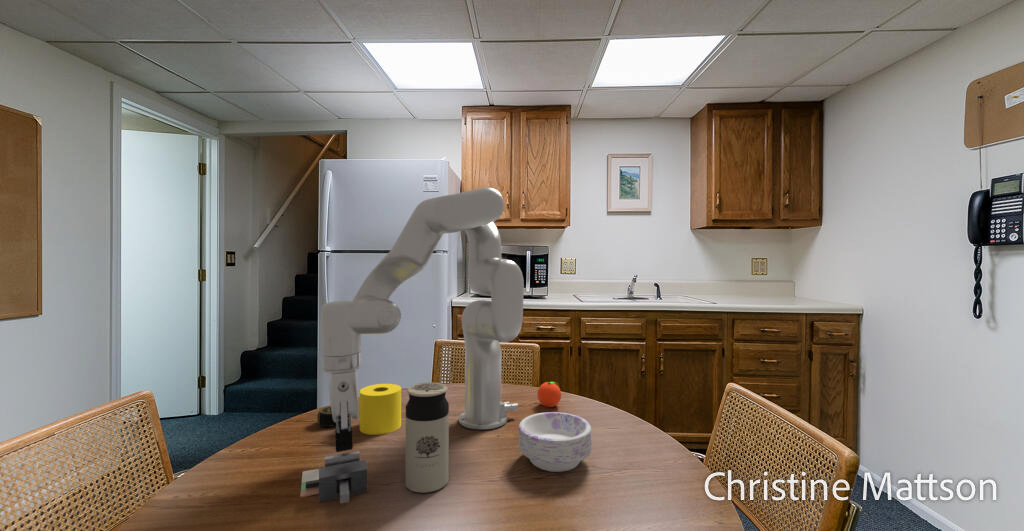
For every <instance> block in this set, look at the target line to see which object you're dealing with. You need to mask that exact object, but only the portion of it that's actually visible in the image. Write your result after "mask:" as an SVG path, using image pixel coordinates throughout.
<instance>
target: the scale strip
mask: <svg viewBox="0 0 1024 531" xmlns="http://www.w3.org/2000/svg"><path fill="white" fill-rule="evenodd" d="M314 480H319V468H316V469H315V468H314V469H311V470H309V469H308V470H304V471H302V477H301V485H300V486H301V487H300V493H299V494H300V495H299V496H300V497H299V498H305V497H309V496H316V495H319V486H318V487H313V488H308V489H306V482H308V481H314Z"/></svg>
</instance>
